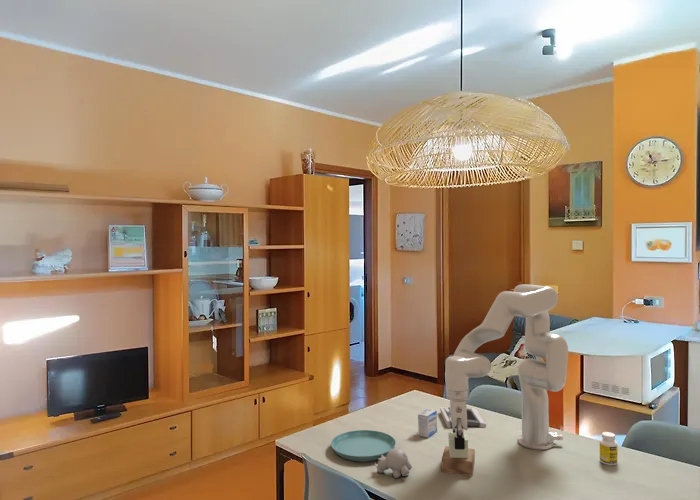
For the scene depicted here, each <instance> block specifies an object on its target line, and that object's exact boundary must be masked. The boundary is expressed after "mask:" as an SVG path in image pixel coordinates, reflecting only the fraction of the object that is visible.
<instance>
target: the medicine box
mask: <svg viewBox="0 0 700 500" xmlns="http://www.w3.org/2000/svg"><path fill="white" fill-rule="evenodd" d="M417 424H418V425H417V427H418V429H417V430H418V436H420V437H422V438H423V437H424V438H428V439H429V438H430V437H432V435H434V434H436V433H437V432H438V413H437V410H435V409H431V408H427V409H425V410H423V411H422V412H420V413H419V414H417ZM435 432H436V433H435Z"/></svg>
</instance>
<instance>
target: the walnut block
mask: <svg viewBox="0 0 700 500" xmlns="http://www.w3.org/2000/svg"><path fill="white" fill-rule="evenodd" d="M475 452H476V451H475V448H469V447H468V458H452V457H450V454H449V445H447V446H446V445H445V447H444V450H443V452H442V456H441V472H442V473H444V474H445V473H448V474H453V475H454V474H456V475H463V476H471V477H473V475H474V468H475V460H476V459H475Z"/></svg>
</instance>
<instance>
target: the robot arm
mask: <svg viewBox="0 0 700 500" xmlns="http://www.w3.org/2000/svg"><path fill="white" fill-rule="evenodd" d="M558 301H559V295H558V292H557V290H555V288H553V287H551V286H547V285H546V286H545V285H536V284H530V283H529V284H528V283H527V284H524V283H523V284H518V285H516V286H515V287H514V289H513V290H512V291H511V290H504V291H500V292H499V293H498V295H497V296H496V297H495V300H494V301H493V303H492V305H491V307H490V308H489V310H488V312H487V314H486V316H485V317H484V319H483V320H482V322H481V324H480V325H478V326H476V327H475V328H473V329H472V330H471V331H470V332H468V333H467V334H466V335H464V337H463V338H461V340H460V342H459V344H458V346H457V347H456V349H455V351H454V353H453V355H451V356H448V357H446V358H445V362H444V363H445V365H444V366H445V398H446V399H447V400H449V407H450V413H451V421H452V427H451V428H452V433H455V449H459V450H464V449H465V439H464V433H465V432H464V430H465V431H468V426H467V408H468V407H467V401H468V400H469V398H470V397H469V396H470V395H469V379H470V378H483V377H486V376H487V375H488V374H489V373H490V372H491V370H492V364H491V361H490V360H489V358H487V356H484V355H482V354H478V353H476V352H475V351H477V349H478V348H479V347H481V346H482V345H483V344H486V343H487V342H491V341H494V340H499V339H501V338H503V337H505V334H506V332H507V330H508V329H509V328H510V325H511V323H512V322H513V319H514V317H520V318H525V330H524V351H526V352H527V354H529V355H531V356H534V357H538V358H542V359H545V361H543V360H540V359H536V358H526V359H523V360H522V361H520V363H519V366H518V367H517V368H518V369H517V372H518V373H517V375H518V379H519V383H520V384H519V385H520V391H521V397H520V398H521V434H520V435H519V436H518V437H517V442H518V443H519V445H521V446H523V447H524V448H527V449H531V450H538V451H539V450H540V451H542V450H548V449H551V448H553V447H554V446H555V445H554V441H555V440H556V441H563V439H564V438H563V435H562V434H558V432H550V423H549V422H550V421H549V419H550V417H549V412H550V411H549V395H548V391H550V392H559V391H561V390H562V389H564V387H565V384H566V380H567V373H568V362H569V361H568V360H569V345H568V343H567V341H566V339H565V338H564V337H563V336H562V335H560V334H556V333H553V332H551V329H550V327H551V319H550V318H551V317H550V314H549V311H551V310H553V309H554V308H555V307H556V306H557V303H558Z"/></svg>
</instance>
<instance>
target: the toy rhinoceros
mask: <svg viewBox="0 0 700 500" xmlns="http://www.w3.org/2000/svg"><path fill="white" fill-rule="evenodd" d="M408 459H409V458H408V455H407V452H406V451H404V450H403V449H402V448H398V447H394V449H391V450H390V451H389V452H388V454H387V456H385V457H384V456H383V455H382V454H381V458H378V460H377V461H378V463H376V462H374V465H375V468H376V471H377V472H378V473H379V474H383V473H384V472H385V471H386V470H387V471H388V470H389V469H390V470H391V471H392V475H393V478H394V479H398V478H400V477H402V476H403V477H405V476H408V475H409V474H410V470H412V468H413V466H412V464H411V462H410V461H409V460H408Z"/></svg>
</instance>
